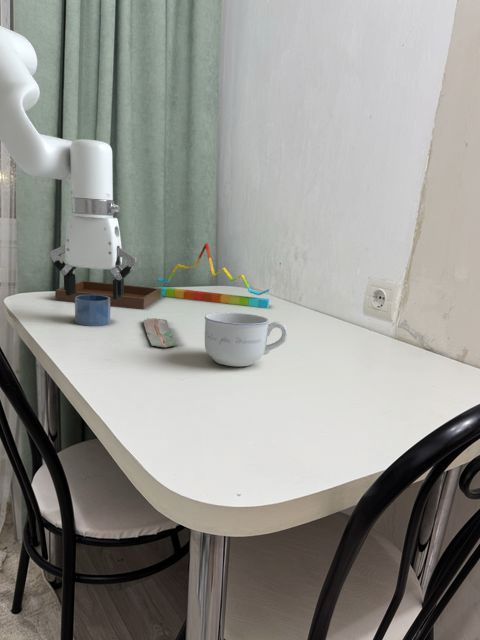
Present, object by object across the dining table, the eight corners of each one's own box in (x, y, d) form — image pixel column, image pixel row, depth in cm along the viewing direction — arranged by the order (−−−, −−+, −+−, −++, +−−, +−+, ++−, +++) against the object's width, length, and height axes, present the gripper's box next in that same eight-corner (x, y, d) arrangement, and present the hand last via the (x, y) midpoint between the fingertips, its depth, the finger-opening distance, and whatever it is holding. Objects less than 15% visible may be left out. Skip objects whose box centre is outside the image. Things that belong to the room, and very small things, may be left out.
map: (151, 351, 89) (151, 346, 89) (142, 318, 108) (142, 314, 107) (180, 351, 91) (180, 346, 91) (166, 319, 109) (166, 315, 109)
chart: (268, 305, 136) (273, 249, 132) (267, 307, 133) (272, 250, 129) (160, 293, 140) (162, 238, 136) (156, 295, 137) (158, 239, 133)
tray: (55, 300, 120) (55, 289, 120) (82, 289, 135) (82, 280, 134) (143, 309, 119) (143, 298, 119) (161, 297, 134) (161, 288, 133)
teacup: (193, 365, 82) (195, 318, 80) (214, 349, 93) (217, 306, 90) (276, 379, 80) (281, 330, 77) (288, 360, 90) (293, 316, 88)
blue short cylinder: (69, 323, 101) (69, 299, 99) (83, 316, 107) (83, 293, 106) (102, 327, 100) (102, 302, 99) (114, 319, 107) (115, 296, 106)
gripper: (142, 212, 101) (141, 297, 105) (57, 205, 102) (61, 290, 106) (130, 212, 94) (130, 303, 98) (39, 205, 94) (43, 296, 99)
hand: (94, 296), depth 102 cm, fingers open, 9 cm apart
